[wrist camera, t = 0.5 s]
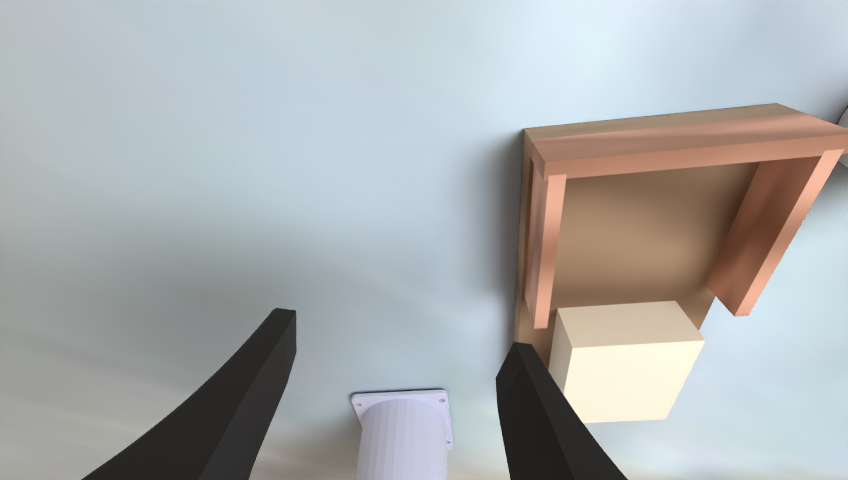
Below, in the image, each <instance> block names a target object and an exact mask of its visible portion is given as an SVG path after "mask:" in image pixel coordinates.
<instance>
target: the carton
mask: <svg viewBox="0 0 848 480" xmlns="http://www.w3.org/2000/svg"><path fill="white" fill-rule="evenodd" d="M705 341H706V340H705V339H704V338H703V336H702V335H701V334H700V332H699V331H698V330H697V328H696V327H695V326H694V324H693V323H692V322H691V320H690V319H689V318H688V317H687V315H686V314H685V313H684V311H683V310H682V309H681V307H680V306H679V305H678V303H677V302H676V301H662V302H646V303H631V304H616V305H600V306H585V307H570V308H557V313H556V320H555V327H554V334H553V341H552V348H551V355H550V362H549V369H548V371H549V373H550V374H551V376H552V377H553V379H554V381H555V382H556V384H557V385H558V387H559V388H560V390H561V392H562V393H563V395H564V396H565V398H566V399H567V401H568V402H569V404H570V405H571V407H572V408H573V410H574V411H575V413H576V414H577V415H578V417H579V418H580V420H581V421H582V423H592V422H615V421H638V420H661V419H666V417H667V415H668V413H669V411H670V409H671V407H672V406H673V404H674V402H675V400H676V398H677V396H678V394H679V392H680V390H681V388H682V386H683V384H684V382H685V380H686V378H687V376H688V374H689V372H690V370H691V368H692V366H693V364H694V362H695V360H696V358H697V356H698V354H699V353H700V351H701V349H702V347H703V345H704V343H705Z"/></svg>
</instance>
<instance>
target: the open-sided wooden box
mask: <svg viewBox="0 0 848 480" xmlns="http://www.w3.org/2000/svg"><path fill="white" fill-rule="evenodd" d="M846 153H848V129H846V128H844V127H841V126H838V125H835V124H833V123H830V122H827V121H824V120H821V119H819V118H816V117H813V116H810V115H808V114H805V113H802V112H799V111H797V110H794V109H791V108H788V107H786V106H783V105H780V104H777V103H775V104H765V105H755V106H745V107H735V108H725V109H715V110H705V111H695V112H685V113H675V114H665V115H655V116H645V117H635V118H625V119H615V120H605V121H595V122H585V123H575V124H565V125H555V126H545V127H535V128H525V129H524V140H523V160H522V180H521V199H520V219H519V239H518V259H517V279H516V299H515V318H514V338H513V343H514V342H520V343H527V344H532V345H533V347H534V349H535V350H536V352H537V353H538V355H539V357H540V358H541V360H542V361H543V363H544V365H545V366H546V368H547V369H549V362H550V355H551V348H552V341H553V334H554V327H555V320H556V313H557V308H570V307H585V306H600V305H616V304H631V303H646V302H662V301H676V302H677V303H678V305H679V306H680V307H681V309H682V310H683V311H684V313H685V314H686V315H687V317H688V318H689V319H690V320H691V322H692V323H693V324H694V326H695V327H696V328H697V330H698V331H699V329H700V327H701V325H702V323H703V321H704V319H705V317H706V315H707V313H708V310H709V308H710V306H711V304H712V302H713V300H714V298H715V296H716V297H717V298H718V299H719V300H720V301H721V302H722V303H723V304H724V305H725V307H726V308H727V309H728V310H729V311H730V312H731V313H732V314H733V316H748V315H749V314H750V312H751V310H752V308H753V307H754V305H755V303H756V301H757V300H758V298H759V296H760V294H761V293H762V291H763V289H764V288H765V286H766V284H767V282H768V281H769V279H770V277H771V275H772V274H773V272H774V270H775V268H776V267H777V265H778V263H779V262H780V260H781V258H782V256H783V255H784V253H785V251H786V249H787V248H788V246H789V244H790V242H791V241H792V239H793V237H794V236H795V234H796V232H797V230H798V229H799V227H800V225H801V223H802V222H803V220H804V218H805V217H806V215H807V213H808V211H809V210H810V208H811V206H812V204H813V203H814V201H815V199H816V197H817V196H818V194H819V192H820V191H821V189H822V187H823V185H824V184H825V182H826V180H827V178H828V177H829V175H830V173H831V171H832V170H833V168H834V166H835V165H836V163H837V161H838V159H839V158H840V156H841V154H846Z"/></svg>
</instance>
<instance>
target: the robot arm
mask: <svg viewBox="0 0 848 480" xmlns="http://www.w3.org/2000/svg"><path fill="white" fill-rule="evenodd" d="M295 355H296V311H295V310H288V309H281V308H275V309H274V310H273V311H272V312H271V313H270V314H269V316H268V317H267V318H266V319H265V320H264V322H263V323H262V324H261V325H260V326H259V327H258V329H257V330H256V331H255V332H254V333H253V334H252V335H251V337H250V338H249V339H248V340H247V341H246V342H245V343H244V344H243V345H242V346H241V347H240V348H239V349H238V351H237V352H236V353H235V354H234V355H233V356H232V357H231V358H230V359H229V360H228V361H227V362H226V363H225V364H224V365H223V366H222V367H221V368H220V369H219V370H218V371H217V372H216V373H215V374H214V375H213V376H212V377H211V378H209V379H208V380H207V381H206V382H205V383H204V384H203V385H202V386H201V387H200V388H199V389H198V390H197V391H196V392H195V393H193V394H192V395H191V396H190V397H189V398H188V399H187V400H185V401H184V402H183V403H182V404H181V405H180V406H179V407H177V408H176V409H175V410H174V411H173V412H171V413H170V414H169V415H168V416H167V417H165V418H164V419H163V420H162V421H160V422H159V423H158V424H157V425H155V426H154V427H153V428H152V429H150V430H149V431H148V432H146V433H145V434H144V435H143V436H141V437H140V438H139V439H137V440H136V441H135V442H134V443H132V444H131V445H130V446H128V447H127V448H126V449H124V450H123V451H121V452H120V453H119V454H117V455H116V456H114V457H113V458H112V459H110V460H109V461H107V462H106V463H104V464H103V465H102V466H100V467H99V468H97V469H96V470H94V471H93V472H92V473H90V474H89V475H87V476H86V477H84V478H83V479H82V480H249V477H250V473H251V470H252V468H253V465H254V462H255V460H256V457H257V454H258V452H259V449H260V447H261V445H262V442H263V440H264V437H265V435H266V433H267V430H268V428H269V426H270V423H271V421H272V418H273V416H274V414H275V411H276V409H277V406H278V404H279V402H280V399H281V397H282V394H283V392H284V389H285V387H286V385H287V382H288V379H289V375H290V372H291V369H292V365H293V362H294V358H295ZM496 392H497V406H498V413H499V419H500V425H501V430H502V436H503V441H504V446H505V452H506V457H507V463H508V468H509V473H510V479H511V480H628V479H627V478H626V477H625V476H624V475H623V474H622V472H621V471H620V470H619V469H618V468H617V466H616V465H615V464H614V463H613V462H612V460H611V459H610V458H609V457H608V455H607V454H606V453H605V452H604V451H603V449H602V448H601V447H600V445H599V444H598V443H597V442H596V440H595V439H594V438H593V436H592V435H591V433H590V432H589V431H588V429H587V428H586V427H585V425H584V424H583V423H582V421H581V420H580V418H579V417H578V415H577V414H576V413H575V411H574V410H573V408H572V407H571V405H570V404H569V402H568V401H567V399H566V398H565V396H564V395H563V393H562V392H561V390H560V388H559V387H558V385H557V384H556V382H555V381H554V379H553V377H552V376H551V374H550V373H549V371H548V369H547V368H546V366H545V365H544V363H543V361H542V360H541V358H540V357H539V355H538V353H537V352H536V350H535V349H534V347H533V345H532V344H527V343H520V342H514V343H513V345H512V347H511V349H510V351H509V353H508V355H507V357H506V359H505V361H504V363H503V365H502V367H501V369H500V371H499V373H498V374H497V376H496ZM351 401H352V404H353V406H354V409H355V412H356V414H357V417H358V419H359V422H360V424H361V427H362V433H361V440H360V446H359V453H358V460H357V466H356V473H355V480H448V475H447V450H451V449H453V447H454V445H453V436H452V428H451V420H450V412H449V404H448V396H447V392H446V391H445V390H423V391H403V392H384V393H364V394H354V395H353V396H352V399H351Z"/></svg>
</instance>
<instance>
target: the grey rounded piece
mask: <svg viewBox="0 0 848 480" xmlns="http://www.w3.org/2000/svg"><path fill="white" fill-rule="evenodd" d="M838 126H841V127H844V128H846V129H848V107H847V108H846V110H845V112H844V113H843V115H842V116H841V118H840V120H839V122H838ZM838 161H839V162H840V163H841V164H843V165H844V166H846V167H848V153H846V154H841V156H840V158H839V159H838Z"/></svg>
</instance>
